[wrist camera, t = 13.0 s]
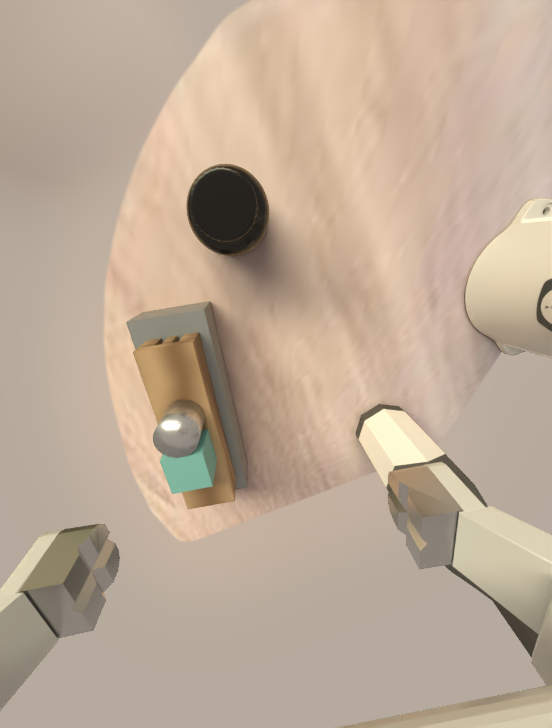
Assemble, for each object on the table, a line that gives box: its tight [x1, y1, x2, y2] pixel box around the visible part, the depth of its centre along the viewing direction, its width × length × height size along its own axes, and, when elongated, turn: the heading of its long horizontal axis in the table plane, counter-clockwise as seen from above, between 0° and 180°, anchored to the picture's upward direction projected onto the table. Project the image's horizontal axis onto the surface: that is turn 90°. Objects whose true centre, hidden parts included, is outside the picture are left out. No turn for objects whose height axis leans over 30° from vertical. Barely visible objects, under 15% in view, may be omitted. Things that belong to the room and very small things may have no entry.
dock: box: [126, 302, 247, 489], centre depth 37 cm, size 8×24×5 cm, turn 9°
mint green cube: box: [160, 429, 217, 494], centre depth 30 cm, size 4×4×4 cm
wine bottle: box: [356, 404, 538, 657], centre depth 29 cm, size 8×8×30 cm
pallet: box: [133, 332, 236, 509], centre depth 33 cm, size 6×20×4 cm, turn 9°
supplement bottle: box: [187, 164, 269, 256], centre depth 26 cm, size 7×7×12 cm
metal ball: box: [153, 399, 205, 458], centre depth 28 cm, size 4×4×4 cm
